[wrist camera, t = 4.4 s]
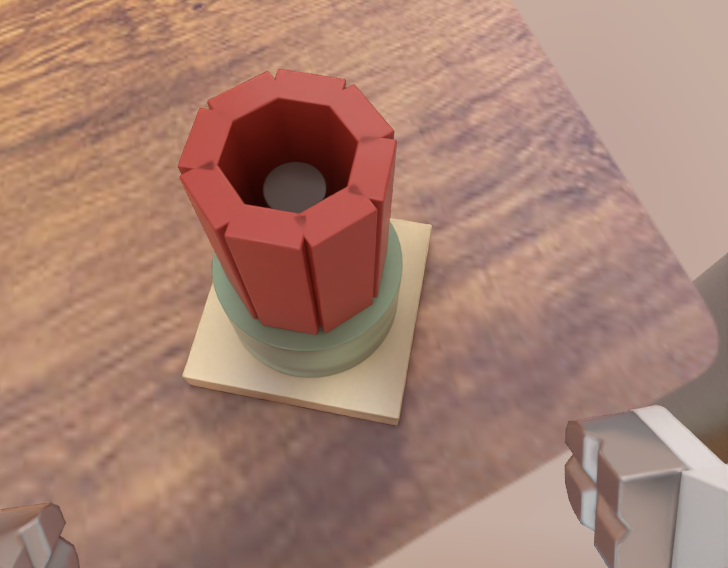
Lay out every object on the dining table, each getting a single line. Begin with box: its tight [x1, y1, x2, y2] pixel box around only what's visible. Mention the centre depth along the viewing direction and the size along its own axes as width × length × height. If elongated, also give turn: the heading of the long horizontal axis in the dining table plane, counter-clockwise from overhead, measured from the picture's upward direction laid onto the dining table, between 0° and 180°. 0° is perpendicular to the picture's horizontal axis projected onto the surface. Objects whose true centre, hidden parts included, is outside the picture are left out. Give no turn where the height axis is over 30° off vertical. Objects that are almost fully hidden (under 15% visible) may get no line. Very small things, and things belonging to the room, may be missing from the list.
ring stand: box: [182, 162, 432, 425], centre depth 26 cm, size 10×10×11 cm
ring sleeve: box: [178, 69, 397, 335], centre depth 22 cm, size 6×6×8 cm
